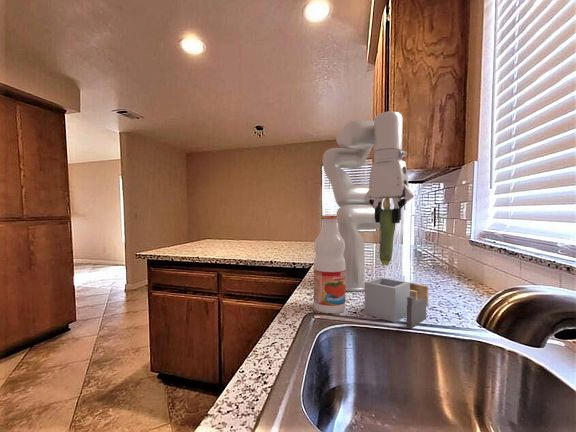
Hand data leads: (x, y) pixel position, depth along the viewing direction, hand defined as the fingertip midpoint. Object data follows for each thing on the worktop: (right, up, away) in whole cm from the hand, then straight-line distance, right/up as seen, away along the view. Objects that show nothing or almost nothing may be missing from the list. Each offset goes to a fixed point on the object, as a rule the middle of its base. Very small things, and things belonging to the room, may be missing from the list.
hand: (387, 222), depth 81 cm
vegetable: (0, -13, 0) cm, 13 cm away
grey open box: (0, -26, 0) cm, 26 cm away
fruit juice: (-16, -26, +5) cm, 31 cm away
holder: (+8, -26, +9) cm, 29 cm away
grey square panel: (+5, -26, -6) cm, 28 cm away
